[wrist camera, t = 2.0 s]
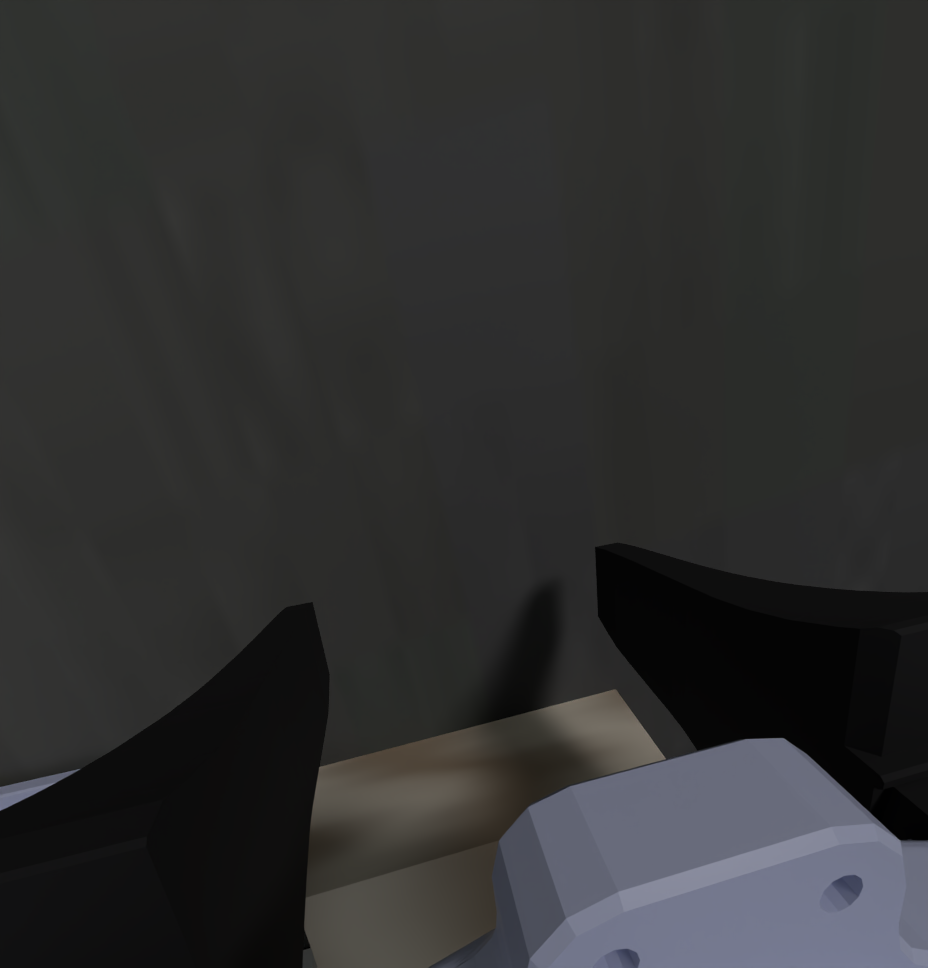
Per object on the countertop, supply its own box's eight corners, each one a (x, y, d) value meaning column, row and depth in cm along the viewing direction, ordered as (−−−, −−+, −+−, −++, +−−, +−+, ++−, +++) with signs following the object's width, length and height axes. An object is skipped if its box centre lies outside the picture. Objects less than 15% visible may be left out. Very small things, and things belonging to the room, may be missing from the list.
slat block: (341, 855, 16) (332, 1009, 12) (313, 762, 15) (294, 901, 11) (617, 775, 18) (686, 892, 14) (612, 685, 16) (684, 785, 13)
